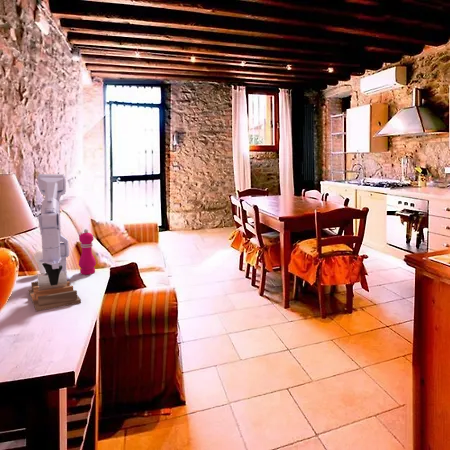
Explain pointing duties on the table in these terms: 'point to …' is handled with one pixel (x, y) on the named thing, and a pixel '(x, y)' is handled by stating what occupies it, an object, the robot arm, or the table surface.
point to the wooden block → (45, 283)
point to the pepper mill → (86, 254)
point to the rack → (53, 297)
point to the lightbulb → (37, 257)
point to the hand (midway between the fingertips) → (53, 283)
